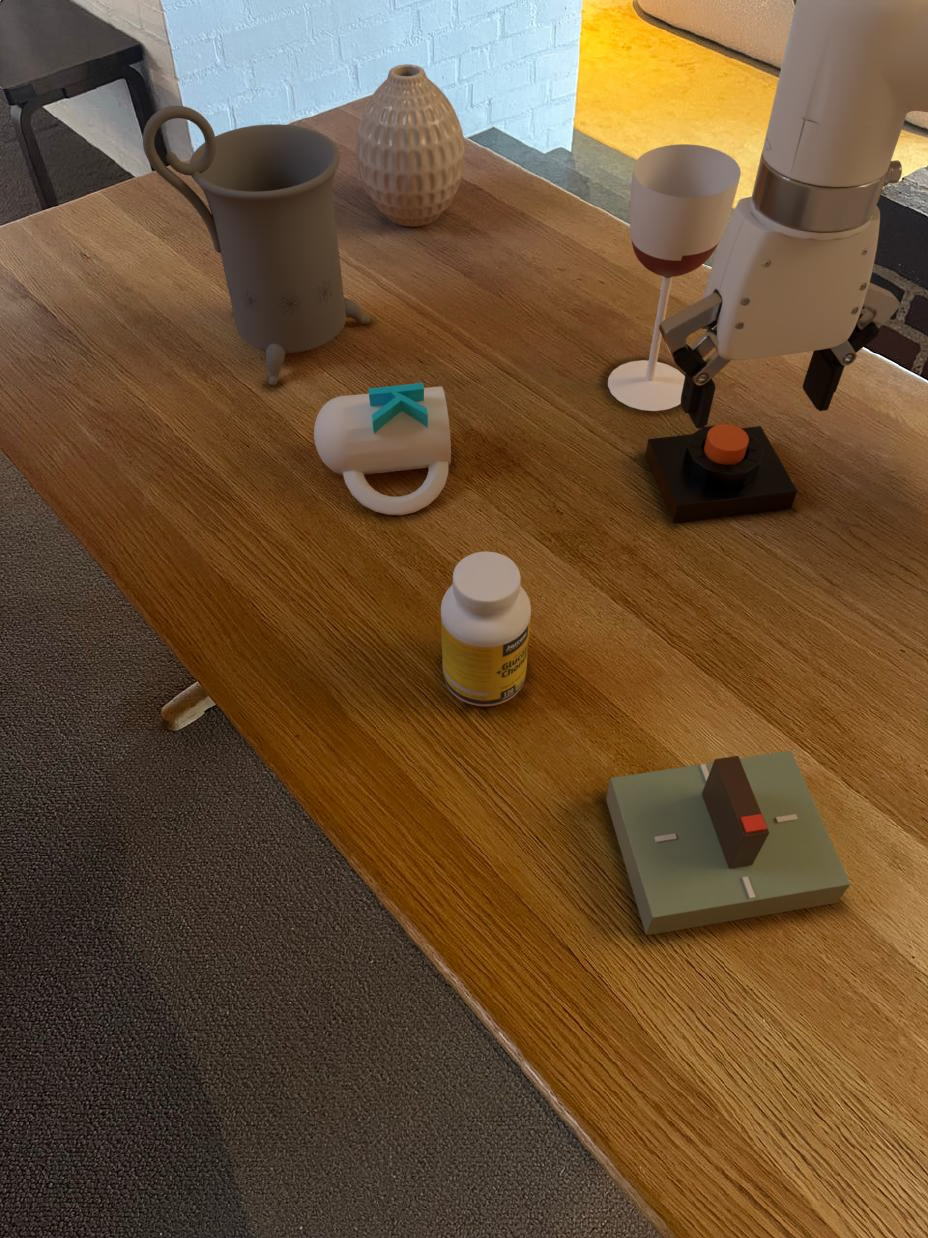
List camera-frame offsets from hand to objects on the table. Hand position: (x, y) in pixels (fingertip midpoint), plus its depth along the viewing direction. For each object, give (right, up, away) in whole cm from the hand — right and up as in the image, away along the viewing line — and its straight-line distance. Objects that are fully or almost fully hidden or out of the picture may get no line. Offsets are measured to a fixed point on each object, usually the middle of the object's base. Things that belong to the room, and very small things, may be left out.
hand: (754, 408), depth 73 cm
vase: (-28, +34, +46) cm, 64 cm away
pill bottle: (-21, -21, +2) cm, 29 cm away
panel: (-5, -32, -8) cm, 33 cm away
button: (+1, -1, +13) cm, 13 cm away
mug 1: (-41, +14, +30) cm, 53 cm away
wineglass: (-3, +8, +25) cm, 26 cm away
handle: (-5, -30, -10) cm, 32 cm away
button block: (+1, -3, +15) cm, 16 cm away
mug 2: (-30, -3, +16) cm, 34 cm away
